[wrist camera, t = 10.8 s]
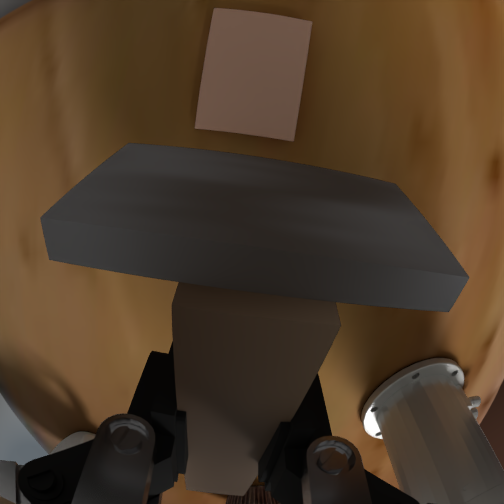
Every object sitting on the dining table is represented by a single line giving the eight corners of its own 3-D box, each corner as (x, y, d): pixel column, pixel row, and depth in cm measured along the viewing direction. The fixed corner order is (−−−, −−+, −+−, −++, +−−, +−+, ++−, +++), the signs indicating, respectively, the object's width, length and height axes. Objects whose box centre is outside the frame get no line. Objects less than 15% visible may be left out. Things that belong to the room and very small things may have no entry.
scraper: (395, 183, 8) (482, 296, 4) (293, 414, 15) (296, 497, 11) (128, 143, 8) (23, 235, 4) (152, 397, 14) (133, 479, 10)
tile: (290, 140, 20) (307, 28, 17) (293, 141, 19) (312, 21, 16) (198, 127, 20) (216, 15, 17) (194, 128, 18) (214, 7, 15)
